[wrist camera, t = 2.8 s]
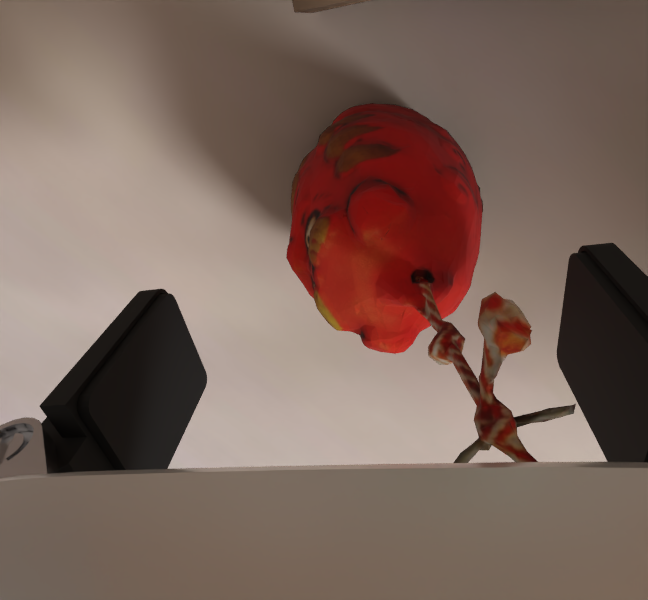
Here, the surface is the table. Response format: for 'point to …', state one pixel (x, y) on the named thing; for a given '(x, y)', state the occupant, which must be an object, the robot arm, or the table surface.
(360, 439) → the table surface
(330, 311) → the red clay folk toy
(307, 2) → the display tray
